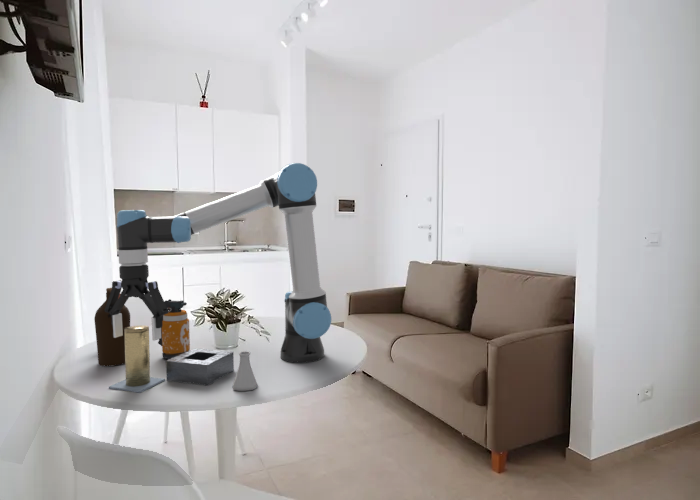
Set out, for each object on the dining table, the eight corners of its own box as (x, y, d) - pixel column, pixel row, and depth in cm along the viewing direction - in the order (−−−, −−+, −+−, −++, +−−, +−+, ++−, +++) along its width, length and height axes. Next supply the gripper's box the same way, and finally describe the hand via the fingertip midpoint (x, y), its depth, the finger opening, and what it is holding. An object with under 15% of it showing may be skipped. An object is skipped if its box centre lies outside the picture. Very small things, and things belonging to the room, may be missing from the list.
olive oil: (137, 361, 154) (134, 287, 153) (103, 369, 146) (100, 291, 145) (123, 355, 161) (121, 285, 160) (91, 362, 153) (88, 288, 152)
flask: (260, 382, 134) (259, 349, 133) (255, 391, 127) (255, 356, 126) (235, 382, 134) (234, 349, 133) (229, 392, 127) (228, 356, 126)
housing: (233, 370, 145) (233, 351, 145) (207, 385, 132) (207, 364, 131) (195, 366, 149) (195, 348, 149) (166, 380, 136) (166, 360, 135)
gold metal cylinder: (155, 380, 135) (153, 326, 134) (139, 387, 129) (137, 331, 128) (137, 377, 137) (135, 324, 136) (120, 385, 131) (119, 329, 130)
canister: (180, 361, 154) (179, 302, 153) (151, 359, 157) (149, 301, 155) (195, 353, 163) (193, 298, 162) (167, 352, 165) (165, 297, 164)
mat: (165, 380, 136) (165, 378, 136) (140, 392, 126) (140, 390, 126) (134, 376, 139) (134, 375, 139) (108, 388, 130) (108, 386, 130)
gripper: (179, 263, 130) (182, 337, 132) (109, 262, 138) (112, 332, 139) (161, 266, 123) (164, 344, 125) (88, 265, 131) (92, 338, 132)
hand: (137, 338), depth 132 cm, fingers open, 13 cm apart
